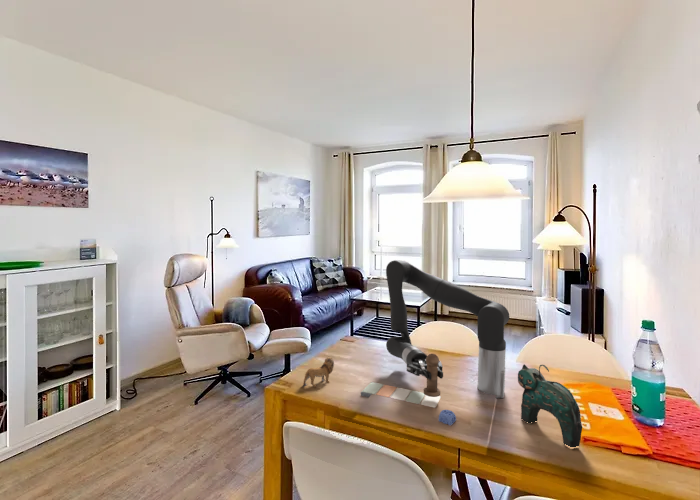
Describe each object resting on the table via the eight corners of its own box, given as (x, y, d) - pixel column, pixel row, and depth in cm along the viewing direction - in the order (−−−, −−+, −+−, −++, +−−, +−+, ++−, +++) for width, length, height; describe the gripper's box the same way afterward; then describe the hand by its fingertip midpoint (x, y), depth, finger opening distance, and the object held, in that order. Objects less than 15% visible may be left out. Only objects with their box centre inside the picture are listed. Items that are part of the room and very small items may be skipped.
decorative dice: (444, 420, 117) (444, 408, 117) (455, 424, 115) (456, 412, 115) (438, 425, 114) (438, 413, 114) (450, 430, 112) (450, 417, 111)
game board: (441, 399, 131) (441, 396, 131) (435, 412, 122) (435, 408, 122) (371, 384, 143) (371, 381, 143) (360, 395, 134) (360, 391, 134)
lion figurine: (328, 376, 151) (328, 354, 150) (337, 380, 147) (337, 358, 146) (298, 386, 141) (298, 363, 140) (306, 391, 137) (307, 367, 136)
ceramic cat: (514, 417, 119) (516, 357, 118) (529, 414, 122) (532, 354, 120) (569, 453, 101) (573, 381, 100) (586, 448, 103) (590, 378, 102)
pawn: (441, 391, 129) (442, 352, 128) (438, 398, 124) (438, 357, 123) (425, 388, 131) (426, 350, 130) (421, 394, 126) (422, 355, 125)
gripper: (397, 350, 139) (416, 367, 122) (432, 347, 142) (455, 363, 126) (397, 370, 139) (416, 389, 123) (431, 366, 143) (454, 385, 126)
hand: (436, 376), depth 124 cm, fingers closed on pawn, 3 cm apart
